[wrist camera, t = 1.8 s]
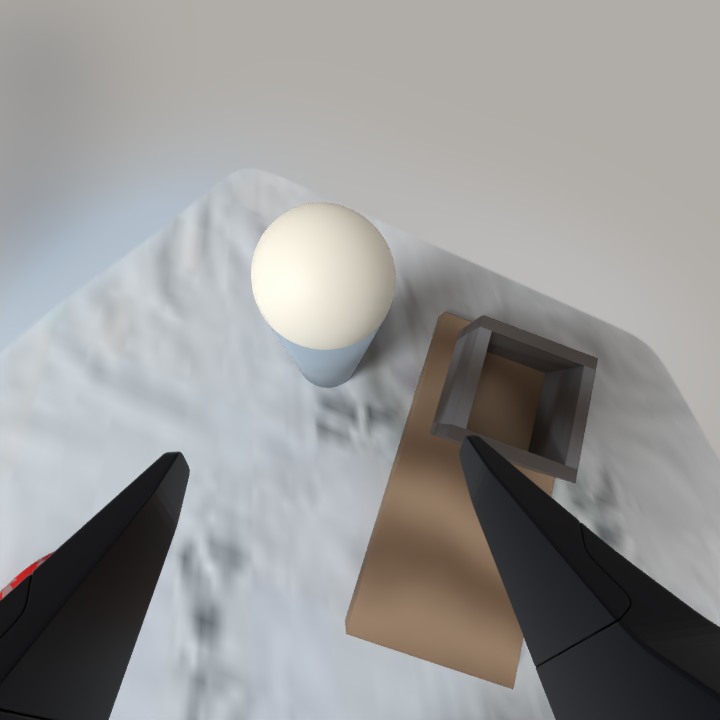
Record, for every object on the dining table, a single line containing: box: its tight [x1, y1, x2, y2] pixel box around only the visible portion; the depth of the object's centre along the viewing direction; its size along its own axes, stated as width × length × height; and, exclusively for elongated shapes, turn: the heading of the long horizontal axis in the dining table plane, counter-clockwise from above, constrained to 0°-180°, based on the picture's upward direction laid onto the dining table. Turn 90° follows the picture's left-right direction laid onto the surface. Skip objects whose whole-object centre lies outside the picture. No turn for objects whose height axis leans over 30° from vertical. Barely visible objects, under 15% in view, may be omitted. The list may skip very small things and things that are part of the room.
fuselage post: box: [251, 203, 396, 388], centre depth 15 cm, size 4×4×15 cm
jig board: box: [345, 312, 598, 689], centre depth 19 cm, size 22×11×5 cm, turn 161°
